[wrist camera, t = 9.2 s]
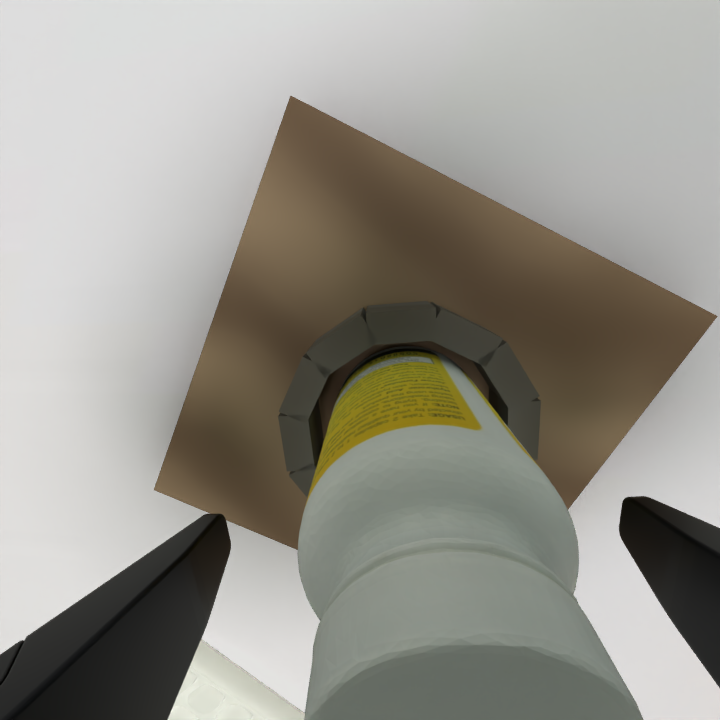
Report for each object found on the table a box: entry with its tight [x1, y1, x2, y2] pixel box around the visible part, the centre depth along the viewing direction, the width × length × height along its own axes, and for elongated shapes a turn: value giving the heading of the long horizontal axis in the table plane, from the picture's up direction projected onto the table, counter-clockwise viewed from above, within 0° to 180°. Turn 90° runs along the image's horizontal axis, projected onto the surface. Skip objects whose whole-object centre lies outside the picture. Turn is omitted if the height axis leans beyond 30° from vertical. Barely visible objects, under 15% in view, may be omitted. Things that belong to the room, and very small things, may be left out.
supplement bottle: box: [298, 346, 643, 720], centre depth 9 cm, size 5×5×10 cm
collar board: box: [154, 96, 717, 550], centre depth 13 cm, size 16×16×3 cm
